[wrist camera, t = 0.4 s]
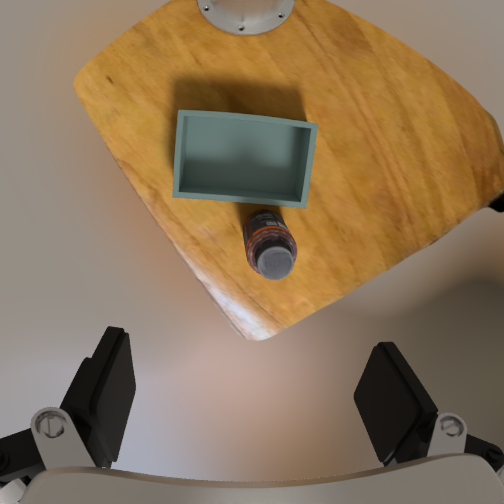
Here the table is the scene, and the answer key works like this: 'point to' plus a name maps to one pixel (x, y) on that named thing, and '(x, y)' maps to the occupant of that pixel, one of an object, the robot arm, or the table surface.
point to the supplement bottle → (269, 245)
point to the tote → (243, 158)
